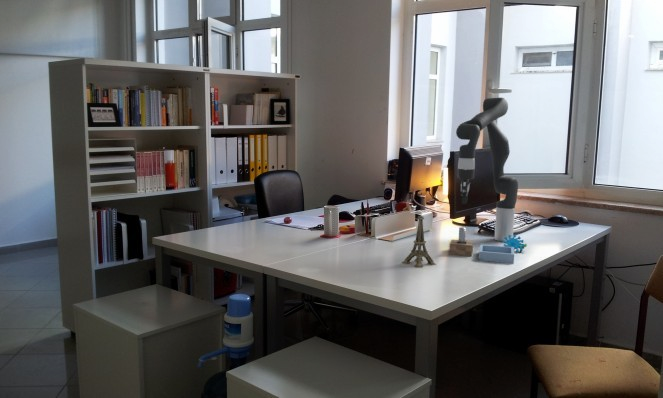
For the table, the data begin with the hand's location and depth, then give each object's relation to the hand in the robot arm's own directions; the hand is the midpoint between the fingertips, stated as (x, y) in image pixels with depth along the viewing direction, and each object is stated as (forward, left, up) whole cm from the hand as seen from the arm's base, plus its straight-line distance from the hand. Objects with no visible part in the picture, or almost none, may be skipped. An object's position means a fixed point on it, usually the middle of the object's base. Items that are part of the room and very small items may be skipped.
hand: (464, 202), depth 265 cm
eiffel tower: (+27, -16, -24) cm, 40 cm away
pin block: (0, 0, -24) cm, 24 cm away
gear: (-13, +24, -24) cm, 37 cm away
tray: (+4, +16, -24) cm, 29 cm away
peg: (0, 0, -24) cm, 24 cm away
